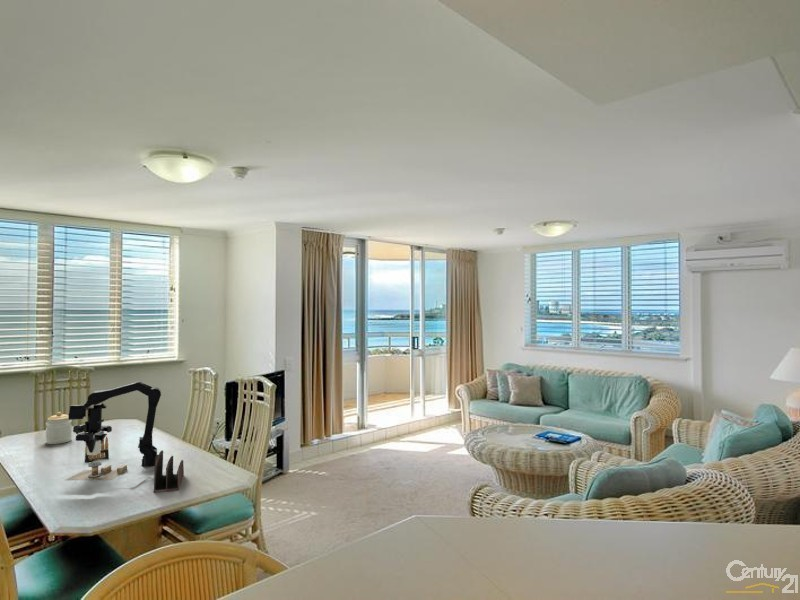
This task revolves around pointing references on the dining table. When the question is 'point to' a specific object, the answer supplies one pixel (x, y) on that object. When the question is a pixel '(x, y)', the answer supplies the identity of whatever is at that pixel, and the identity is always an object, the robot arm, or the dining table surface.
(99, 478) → the board
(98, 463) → the bobbin
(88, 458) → the ammunition clip
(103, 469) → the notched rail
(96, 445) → the white block
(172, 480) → the letter holder
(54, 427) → the jar
